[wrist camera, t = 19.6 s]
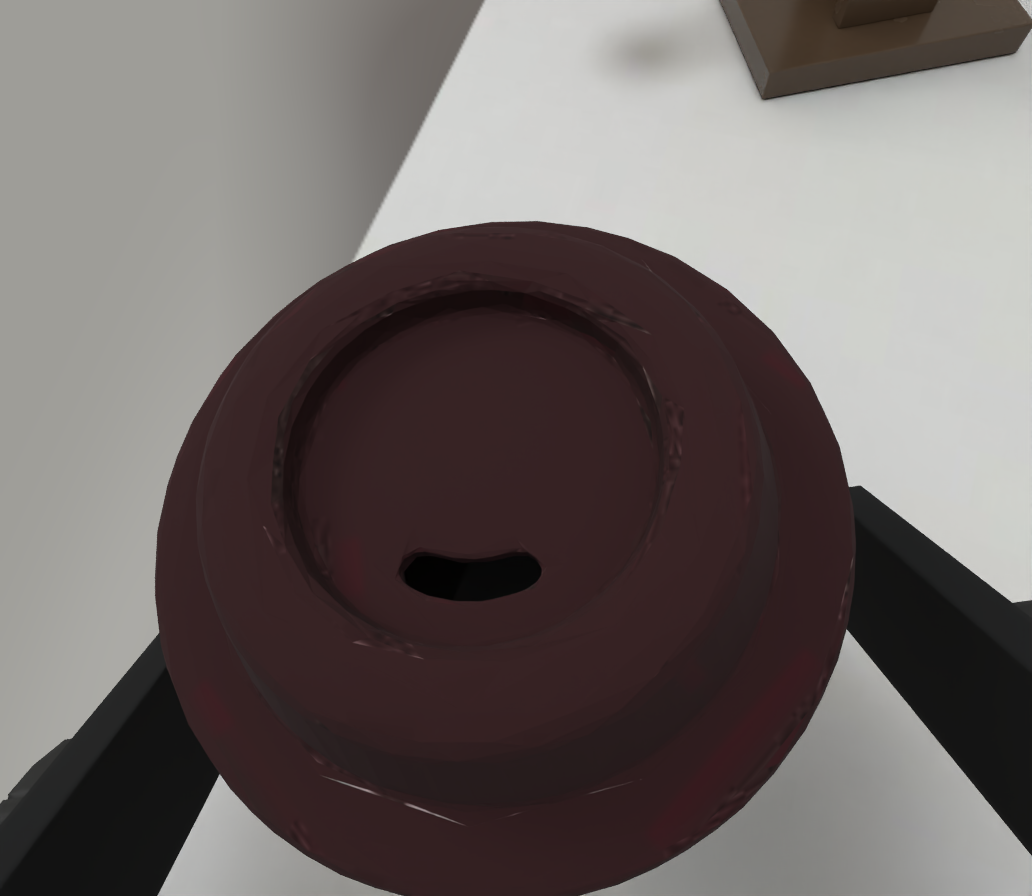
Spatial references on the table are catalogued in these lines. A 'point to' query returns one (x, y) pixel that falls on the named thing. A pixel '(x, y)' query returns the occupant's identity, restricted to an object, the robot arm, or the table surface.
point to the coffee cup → (505, 563)
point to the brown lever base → (867, 38)
